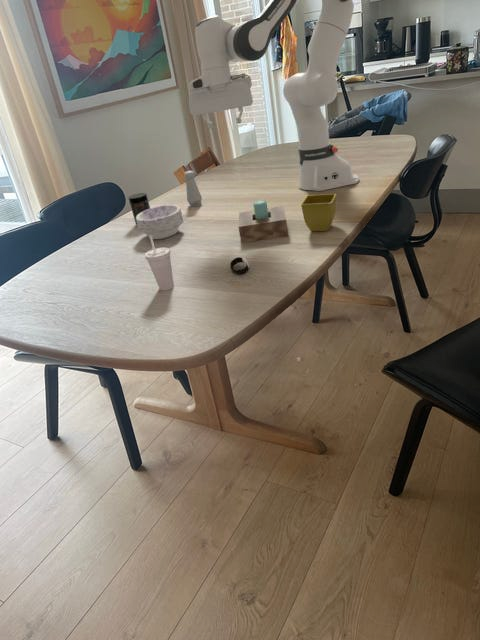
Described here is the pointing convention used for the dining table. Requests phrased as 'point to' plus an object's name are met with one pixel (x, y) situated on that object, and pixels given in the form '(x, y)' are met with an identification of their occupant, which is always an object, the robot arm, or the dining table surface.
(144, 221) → the paper bowls
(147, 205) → the supplement container
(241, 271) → the watch
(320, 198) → the flower pot
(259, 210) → the dowel
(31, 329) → the dining table surface
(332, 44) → the robot arm
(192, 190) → the salt shaker
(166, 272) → the smoothie
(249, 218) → the bore block
